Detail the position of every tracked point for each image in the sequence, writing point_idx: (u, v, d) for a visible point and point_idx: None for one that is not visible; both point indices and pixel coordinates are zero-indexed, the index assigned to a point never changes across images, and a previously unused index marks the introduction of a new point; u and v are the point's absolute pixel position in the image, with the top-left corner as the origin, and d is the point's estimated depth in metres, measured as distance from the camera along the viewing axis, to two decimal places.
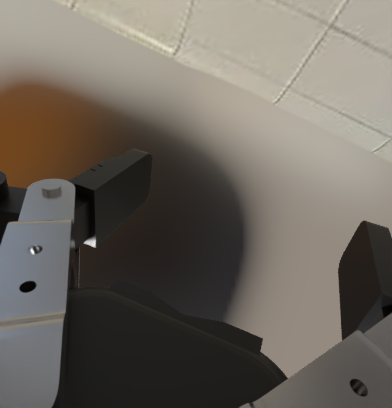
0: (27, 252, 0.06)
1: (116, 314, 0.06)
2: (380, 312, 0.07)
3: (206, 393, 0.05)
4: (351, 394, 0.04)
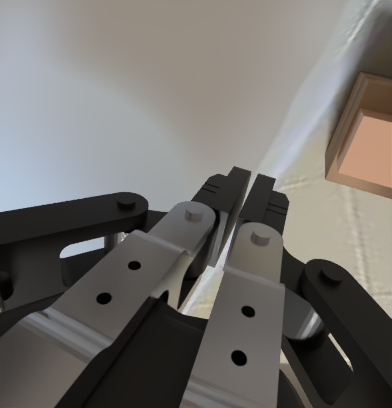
0: (128, 265, 0.06)
1: None
2: None
3: None
4: (246, 320, 0.05)
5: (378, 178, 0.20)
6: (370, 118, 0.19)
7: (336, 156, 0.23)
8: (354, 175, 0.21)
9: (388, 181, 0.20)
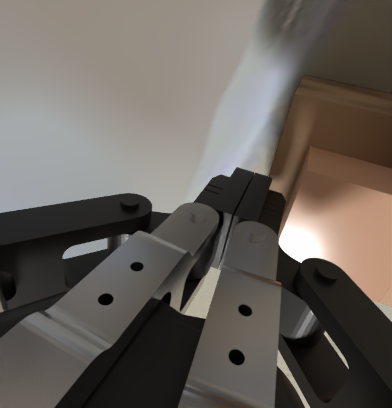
0: (130, 266, 0.06)
1: None
2: None
3: None
4: (243, 319, 0.05)
5: None
6: (319, 175, 0.10)
7: None
8: None
9: None
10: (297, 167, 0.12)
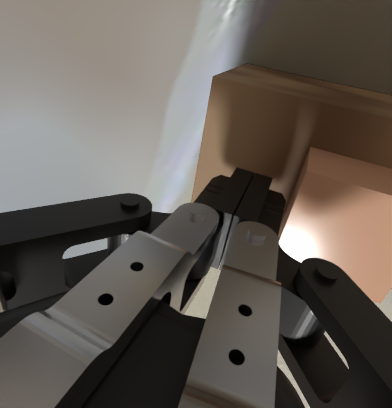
0: (131, 266, 0.06)
1: None
2: None
3: None
4: (243, 319, 0.05)
5: None
6: (319, 176, 0.10)
7: (193, 196, 0.15)
8: None
9: None
10: (222, 147, 0.13)
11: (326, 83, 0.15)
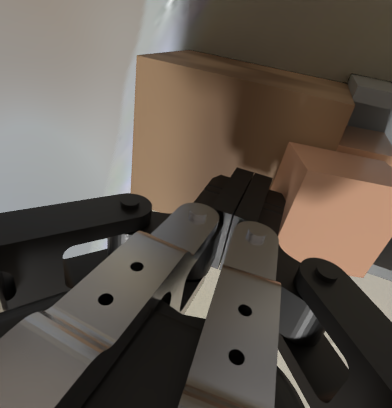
0: (131, 266, 0.06)
1: None
2: None
3: None
4: (243, 319, 0.05)
5: None
6: (319, 174, 0.10)
7: (133, 169, 0.16)
8: None
9: (346, 267, 0.12)
10: (152, 121, 0.14)
11: (256, 66, 0.16)
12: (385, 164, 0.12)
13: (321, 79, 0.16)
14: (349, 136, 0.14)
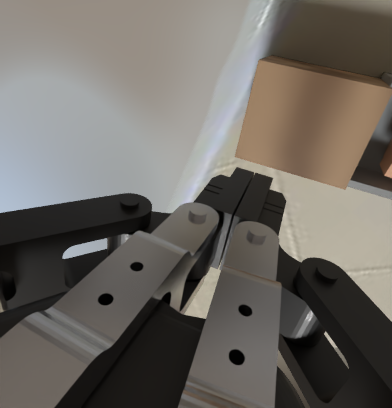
0: (130, 266, 0.06)
1: None
2: None
3: None
4: (243, 318, 0.05)
5: None
6: None
7: (241, 133, 0.24)
8: None
9: None
10: (261, 101, 0.23)
11: (321, 66, 0.25)
12: None
13: (364, 75, 0.24)
14: None
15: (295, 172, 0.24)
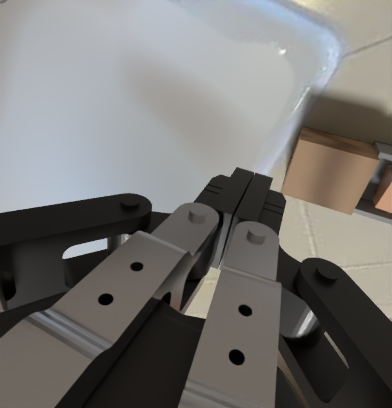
0: (131, 266, 0.06)
1: None
2: None
3: None
4: (243, 319, 0.05)
5: None
6: None
7: (285, 179, 0.39)
8: (384, 209, 0.37)
9: None
10: (300, 162, 0.37)
11: (335, 136, 0.39)
12: None
13: (362, 142, 0.39)
14: None
15: (319, 204, 0.39)
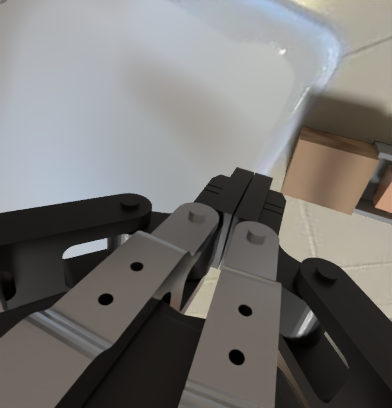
0: (131, 266, 0.06)
1: None
2: None
3: None
4: (243, 318, 0.05)
5: None
6: None
7: (285, 179, 0.39)
8: (384, 209, 0.37)
9: None
10: (300, 162, 0.37)
11: (335, 136, 0.39)
12: None
13: (362, 142, 0.39)
14: None
15: (319, 203, 0.39)
